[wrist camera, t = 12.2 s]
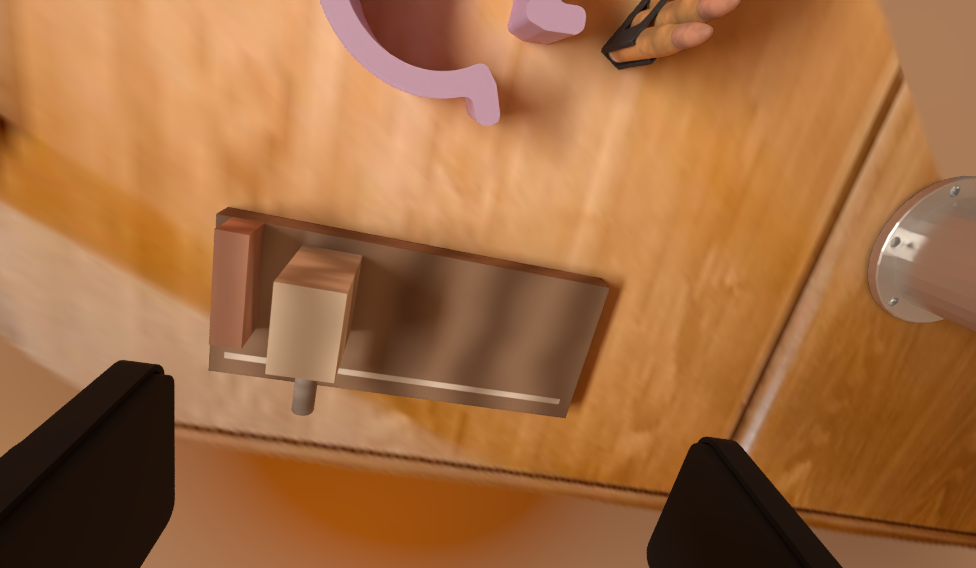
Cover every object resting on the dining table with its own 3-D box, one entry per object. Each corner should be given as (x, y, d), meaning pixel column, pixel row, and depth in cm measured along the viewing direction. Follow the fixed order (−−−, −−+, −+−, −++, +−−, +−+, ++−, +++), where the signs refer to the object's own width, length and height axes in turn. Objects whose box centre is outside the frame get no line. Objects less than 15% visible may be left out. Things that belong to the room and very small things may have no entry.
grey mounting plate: (601, 278, 40) (624, 303, 35) (559, 404, 44) (575, 441, 39) (227, 207, 35) (196, 225, 30) (219, 356, 39) (190, 393, 34)
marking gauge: (362, 255, 35) (347, 294, 28) (343, 377, 38) (326, 436, 32) (303, 244, 34) (273, 281, 28) (289, 369, 37) (260, 429, 31)
